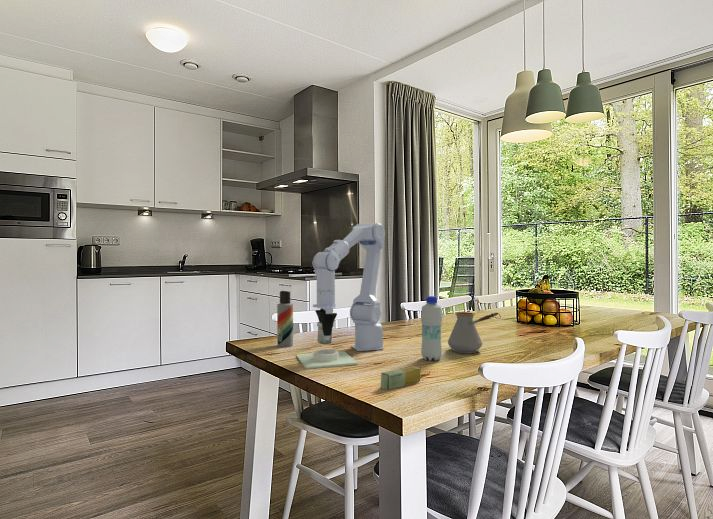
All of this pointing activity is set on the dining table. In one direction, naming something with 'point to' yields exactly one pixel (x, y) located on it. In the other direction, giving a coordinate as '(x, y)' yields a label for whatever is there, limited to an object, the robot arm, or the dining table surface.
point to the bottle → (431, 329)
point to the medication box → (400, 377)
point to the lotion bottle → (285, 320)
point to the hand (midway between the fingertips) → (325, 333)
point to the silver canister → (321, 337)
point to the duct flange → (326, 359)
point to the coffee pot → (466, 333)
